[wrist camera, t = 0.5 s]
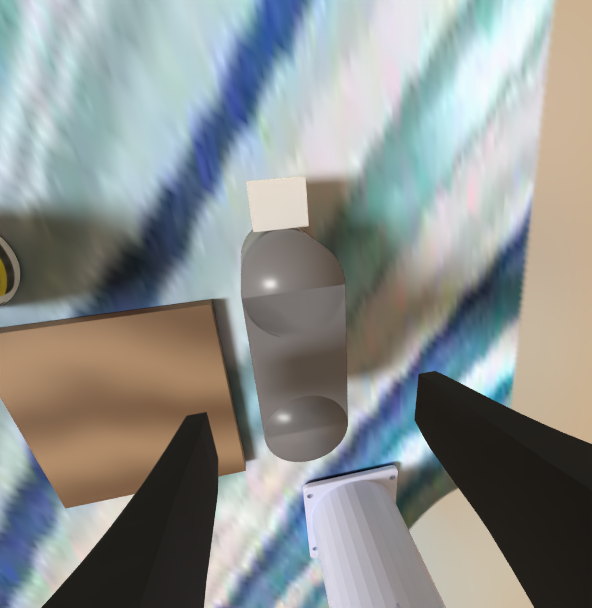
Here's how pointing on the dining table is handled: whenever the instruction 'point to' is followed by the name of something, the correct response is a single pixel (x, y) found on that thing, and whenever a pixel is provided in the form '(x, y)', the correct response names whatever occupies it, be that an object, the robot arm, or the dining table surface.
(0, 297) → the supplement bottle
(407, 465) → the dining table surface
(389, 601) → the robot arm
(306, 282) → the grey rounded piece
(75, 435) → the walnut board
